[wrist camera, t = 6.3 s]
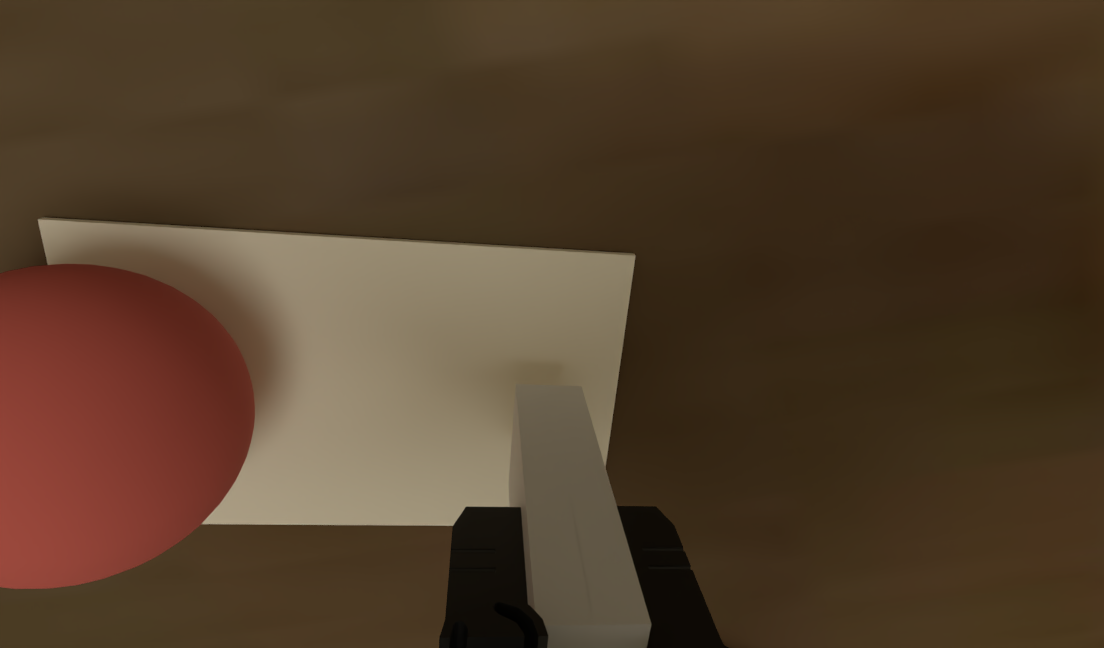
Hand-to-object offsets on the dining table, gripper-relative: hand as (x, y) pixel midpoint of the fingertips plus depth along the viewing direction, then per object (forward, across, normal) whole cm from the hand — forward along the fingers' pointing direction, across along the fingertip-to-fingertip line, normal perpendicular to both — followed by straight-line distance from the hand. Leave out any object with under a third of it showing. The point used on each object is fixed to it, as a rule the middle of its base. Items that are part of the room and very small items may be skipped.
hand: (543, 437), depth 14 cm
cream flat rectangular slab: (+2, +4, 0) cm, 5 cm away
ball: (-1, +9, -1) cm, 9 cm away
